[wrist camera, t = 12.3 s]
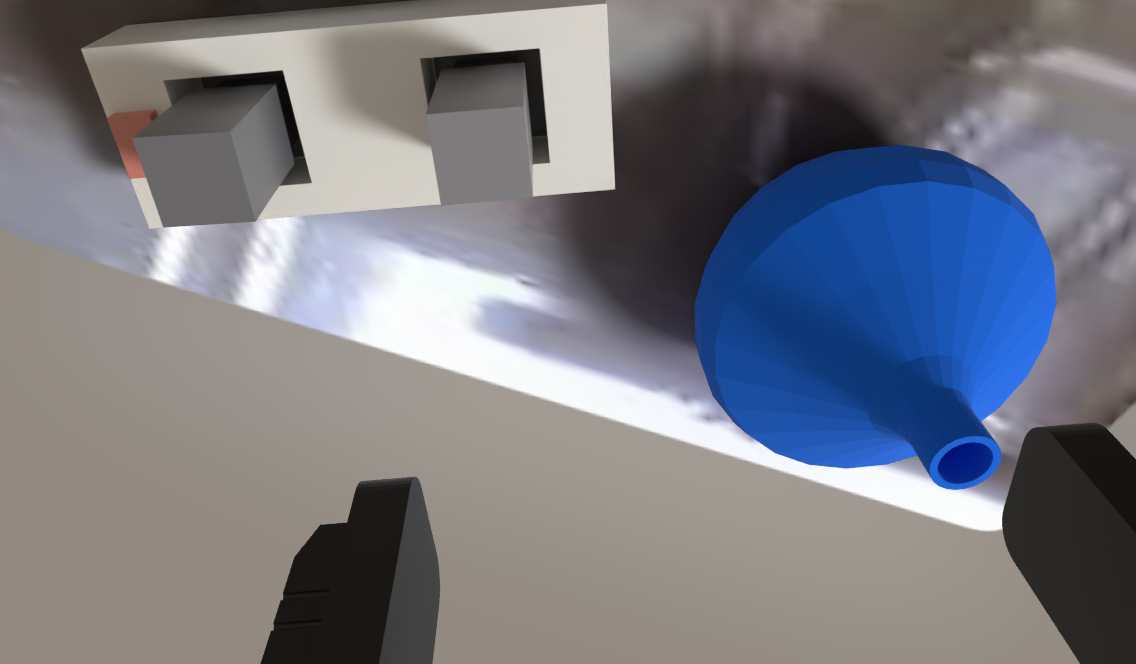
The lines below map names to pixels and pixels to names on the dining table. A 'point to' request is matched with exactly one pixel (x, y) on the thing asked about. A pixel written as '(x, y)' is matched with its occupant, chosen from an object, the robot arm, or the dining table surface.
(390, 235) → the dining table surface
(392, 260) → the dining table surface
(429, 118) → the twin plug
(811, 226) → the blue rounded piece
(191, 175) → the plug
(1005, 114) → the dining table surface
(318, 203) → the pdu strip
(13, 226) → the dining table surface
